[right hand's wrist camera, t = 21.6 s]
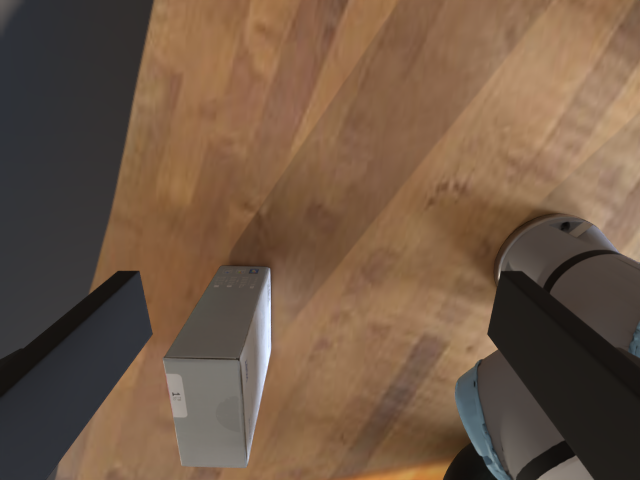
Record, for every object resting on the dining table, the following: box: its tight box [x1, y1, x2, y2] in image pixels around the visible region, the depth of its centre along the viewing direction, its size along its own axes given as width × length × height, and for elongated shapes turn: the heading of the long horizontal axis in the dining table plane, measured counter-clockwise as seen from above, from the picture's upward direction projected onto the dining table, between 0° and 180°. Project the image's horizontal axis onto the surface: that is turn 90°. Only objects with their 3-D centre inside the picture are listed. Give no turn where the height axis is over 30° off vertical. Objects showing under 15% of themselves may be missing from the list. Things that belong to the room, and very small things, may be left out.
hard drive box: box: [163, 266, 271, 468], centre depth 45 cm, size 16×8×20 cm, turn 178°
